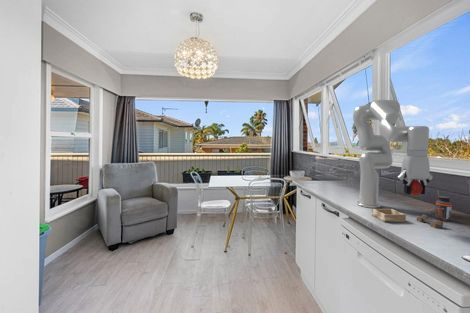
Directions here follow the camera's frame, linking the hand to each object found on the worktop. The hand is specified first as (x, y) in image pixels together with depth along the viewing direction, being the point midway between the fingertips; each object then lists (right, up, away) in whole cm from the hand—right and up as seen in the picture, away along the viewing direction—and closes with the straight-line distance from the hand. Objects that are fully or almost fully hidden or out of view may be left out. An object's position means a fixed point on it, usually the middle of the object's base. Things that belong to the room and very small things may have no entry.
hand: (414, 193), depth 110 cm
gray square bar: (+9, -15, +3) cm, 17 cm away
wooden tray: (-5, -14, +10) cm, 18 cm away
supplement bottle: (+21, -14, +9) cm, 27 cm away
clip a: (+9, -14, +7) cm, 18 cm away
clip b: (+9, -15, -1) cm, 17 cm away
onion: (0, -1, 0) cm, 1 cm away
